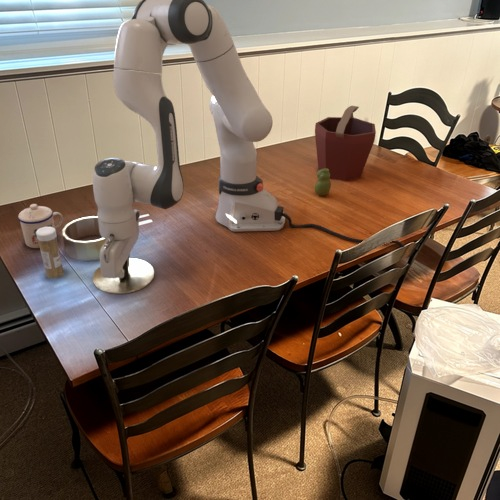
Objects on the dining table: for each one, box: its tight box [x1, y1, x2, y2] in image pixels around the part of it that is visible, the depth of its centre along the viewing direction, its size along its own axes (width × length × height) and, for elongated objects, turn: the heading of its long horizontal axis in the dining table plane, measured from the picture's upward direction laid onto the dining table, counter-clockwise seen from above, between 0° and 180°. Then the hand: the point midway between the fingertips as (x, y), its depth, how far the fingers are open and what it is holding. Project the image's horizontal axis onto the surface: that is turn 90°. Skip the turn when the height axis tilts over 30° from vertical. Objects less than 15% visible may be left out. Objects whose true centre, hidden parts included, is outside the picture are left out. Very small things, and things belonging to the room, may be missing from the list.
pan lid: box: [92, 257, 155, 295], centre depth 126 cm, size 16×16×5 cm
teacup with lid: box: [17, 203, 64, 249], centre depth 139 cm, size 12×9×12 cm
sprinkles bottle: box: [36, 227, 65, 279], centre depth 124 cm, size 5×5×13 cm
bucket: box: [314, 105, 377, 182], centre depth 185 cm, size 24×22×25 cm
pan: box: [61, 215, 106, 262], centre depth 137 cm, size 15×15×6 cm
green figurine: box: [314, 168, 332, 197], centre depth 171 cm, size 6×5×10 cm
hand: (123, 271), depth 126 cm, fingers closed on pan lid, 2 cm apart
